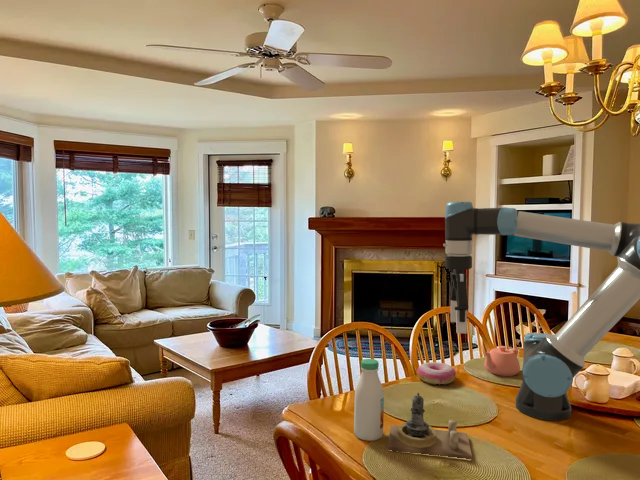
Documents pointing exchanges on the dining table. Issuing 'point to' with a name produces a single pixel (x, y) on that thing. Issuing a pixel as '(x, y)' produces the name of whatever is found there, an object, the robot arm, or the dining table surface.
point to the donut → (436, 373)
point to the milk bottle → (369, 403)
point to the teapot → (502, 361)
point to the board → (436, 447)
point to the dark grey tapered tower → (417, 419)
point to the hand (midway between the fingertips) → (458, 327)
